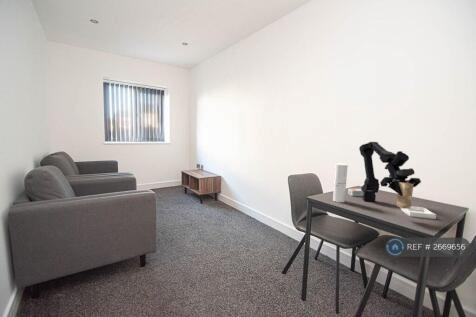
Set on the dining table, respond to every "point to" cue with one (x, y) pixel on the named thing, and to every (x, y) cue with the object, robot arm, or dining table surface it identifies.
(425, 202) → the dining table surface
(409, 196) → the oak block
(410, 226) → the dining table surface
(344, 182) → the cylindrical container
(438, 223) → the dining table surface
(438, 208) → the dining table surface
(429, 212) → the tray
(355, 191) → the skincare box
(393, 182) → the robot arm
